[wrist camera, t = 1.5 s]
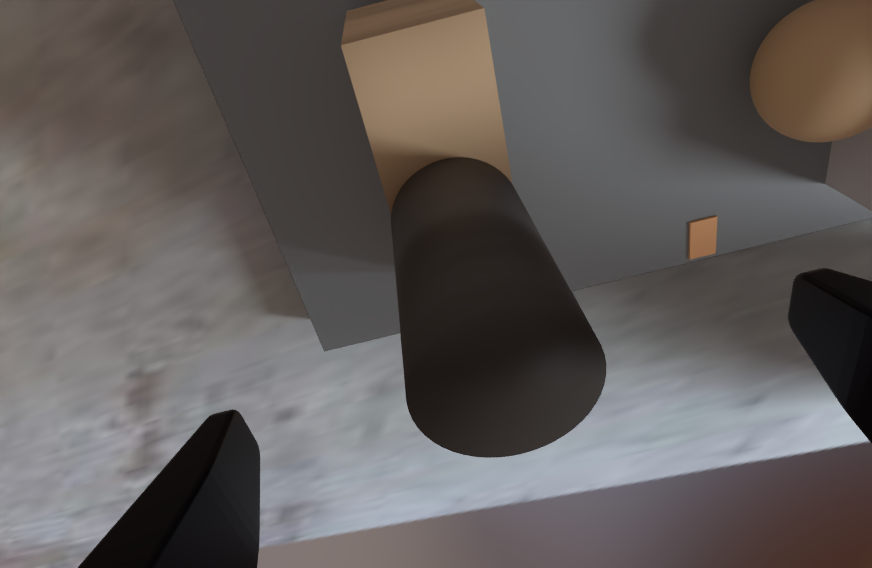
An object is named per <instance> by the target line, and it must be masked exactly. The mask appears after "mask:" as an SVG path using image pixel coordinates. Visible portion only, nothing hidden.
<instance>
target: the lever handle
mask: <svg viewBox="0 0 872 568" xmlns="http://www.w3.org/2000/svg"><path fill="white" fill-rule="evenodd" d="M341 48H342V51H343V54H344V58H345V61H346V65H347V68H348V71H349V75H350V78H351V81H352V85H353V88H354V92H355V95H356V98H357V102H358V105H359V108H360V112H361V115H362V119H363V122H364V125H365V129H366V132H367V136H368V139H369V142H370V146H371V149H372V152H373V156H374V159H375V163H376V166H377V169H378V173H379V176H380V179H381V183H382V186H383V190H384V193H385V196H386V200H387V203H388V206H389V210H390V213H391V231H392V242H393V253H394V265H395V276H396V287H397V299H398V310H399V322H400V333H401V344H402V356H403V367H404V378H405V390H406V401H407V406H408V410H409V413H410V415H411V417H412V419H413V421H414V423H415V424H416V426H417V427H418V428H419V429H420V431H421V432H422V433H423V434H424V435H425V436H426V437H428V438H429V439H430V440H432V441H433V442H434V443H436V444H438V445H440V446H441V447H443V448H446V449H448V450H450V451H453V452H456V453H460V454H463V455H469V456H475V457H505V456H512V455H517V454H522V453H526V452H529V451H533V450H535V449H538V448H541V447H543V446H545V445H548V444H550V443H552V442H554V441H556V440H557V439H559V438H561V437H562V436H564V435H565V434H567V433H568V432H569V431H571V430H572V429H574V428H575V427H576V426H577V425H578V424H579V423H580V422H581V421H582V420H583V419H584V418H585V417H586V416H587V415H588V414H589V413H590V411H591V410H592V408H593V407H594V405H595V404H596V402H597V400H598V398H599V396H600V395H601V392H602V389H603V386H604V383H605V377H606V361H605V355H604V352H603V349H602V346H601V344H600V342H599V341H598V339H597V337H596V335H595V333H594V332H593V330H592V328H591V326H590V324H589V322H588V321H587V319H586V317H585V315H584V313H583V312H582V310H581V308H580V306H579V304H578V302H577V301H576V299H575V297H574V295H573V293H572V292H571V290H570V288H569V286H568V284H567V282H566V281H565V279H564V277H563V275H562V273H561V272H560V270H559V268H558V266H557V264H556V262H555V261H554V259H553V257H552V255H551V253H550V252H549V250H548V248H547V246H546V244H545V242H544V241H543V239H542V237H541V235H540V233H539V232H538V230H537V228H536V226H535V224H534V222H533V221H532V219H531V217H530V215H529V213H528V212H527V210H526V208H525V206H524V204H523V202H522V201H521V199H520V197H519V195H518V193H517V192H516V190H515V188H514V186H513V184H512V178H511V171H510V165H509V159H508V153H507V146H506V140H505V134H504V128H503V121H502V115H501V109H500V103H499V96H498V90H497V84H496V78H495V71H494V65H493V59H492V53H491V47H490V40H489V34H488V28H487V22H486V15H485V9H484V7H482V6H481V5H480V4H479V3H477V2H476V1H475V0H386V1H382V2H379V3H375V4H371V5H367V6H363V7H360V8H356V9H352V10H348V11H347V12H346V18H345V24H344V30H343V36H342V41H341Z"/></svg>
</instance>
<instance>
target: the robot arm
mask: <svg viewBox="0 0 872 568" xmlns="http://www.w3.org/2000/svg"><path fill="white" fill-rule="evenodd" d="M788 320H789V324H790V327H791V329H792V331H793V333H794V334H795V336H796V337H797V339H798V340H799V342H800V343H801V345H802V346H803V348H804V349H805V351H806V353H807V354H808V356H809V357H810V359H811V360H812V362H813V363H814V365H815V366H816V368H817V369H818V371H819V372H820V374H821V375H822V377H823V378H824V380H825V382H826V383H827V385H828V386H829V388H830V389H831V391H832V392H833V394H834V395H835V397H836V398H837V400H838V401H839V402H840V404H841V405H842V407H843V408H844V409H845V411H846V412H847V413H848V415H849V416H850V417H851V418H852V420H853V421H854V422H855V423H856V425H857V426H858V427H859V428H860V430H861V431H862V432H863V433H864V434H865V436H866V437H867V438H868V439H869V441H870V442H871V443H872V281H868V280H865V279H862V278H858V277H855V276H851V275H848V274H844V273H841V272H838V271H834V270H831V269H827V268H822V269H817V270H813V271H808V272H804V273H801V274H799V275H797V276H796V278H795V279H794V282H793V287H792V294H791V300H790V306H789V313H788ZM259 534H260V451H259V447H258V444H257V442H256V440H255V438H254V436H253V434H252V433H251V431H250V429H249V428H248V426H247V424H246V422H245V421H244V419H243V417H242V415H241V414H240V413H239V412H238V411H237V410H228V411H224V412H220V413H215V414H213V415H211V416H209V417H208V418H207V419H206V420H205V421H204V422H203V424H202V425H201V426H200V427H199V428H198V429H197V431H196V432H195V433H194V434H193V435H192V436H191V437H190V439H189V440H188V441H187V442H186V443H185V444H184V446H183V447H182V448H181V449H180V450H179V451H178V452H177V454H176V455H175V456H174V457H173V458H172V459H171V461H170V462H169V463H168V464H167V465H166V466H165V467H164V469H163V470H162V471H161V472H160V473H159V474H158V476H157V477H156V478H155V479H154V480H153V481H152V482H151V484H150V485H149V486H148V487H147V488H146V489H145V491H144V492H143V493H142V494H141V495H140V496H139V497H138V499H137V500H136V501H135V502H134V503H133V504H132V506H131V507H130V508H129V509H128V510H127V511H126V512H125V514H124V515H123V516H122V517H121V518H120V519H119V520H118V522H117V523H116V524H115V525H114V526H113V527H112V529H111V530H110V531H109V532H108V533H107V534H106V535H105V537H104V538H103V539H102V540H101V541H100V542H99V544H98V545H97V546H96V547H95V548H94V549H93V550H92V552H91V553H90V554H89V555H88V556H87V557H86V559H85V560H84V561H83V562H82V563H81V564H80V565H79V567H78V568H257V562H258V552H259Z"/></svg>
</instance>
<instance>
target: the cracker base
mask: <svg viewBox="0 0 872 568" xmlns="http://www.w3.org/2000/svg"><path fill="white" fill-rule="evenodd" d="M173 1H174V4H175V6H176V8H177V11H178V13H179V15H180V18H181V20H182V22H183V24H184V27H185V29H186V31H187V34H188V36H189V38H190V41H191V43H192V45H193V48H194V50H195V52H196V55H197V57H198V59H199V62H200V64H201V66H202V69H203V71H204V73H205V76H206V78H207V80H208V83H209V85H210V87H211V89H212V92H213V94H214V96H215V99H216V101H217V103H218V106H219V108H220V110H221V113H222V115H223V117H224V120H225V122H226V124H227V127H228V129H229V131H230V134H231V136H232V138H233V141H234V143H235V145H236V148H237V150H238V152H239V154H240V157H241V159H242V161H243V164H244V166H245V168H246V171H247V173H248V175H249V178H250V180H251V182H252V185H253V187H254V189H255V192H256V194H257V196H258V199H259V201H260V203H261V206H262V208H263V210H264V213H265V215H266V217H267V219H268V222H269V224H270V226H271V229H272V231H273V233H274V236H275V238H276V240H277V243H278V245H279V247H280V250H281V252H282V254H283V257H284V259H285V261H286V264H287V266H288V268H289V271H290V273H291V275H292V278H293V280H294V282H295V284H296V287H297V289H298V291H299V294H300V296H301V298H302V301H303V303H304V305H305V308H306V310H307V312H308V315H309V317H310V319H311V322H312V324H313V326H314V329H315V331H316V333H317V336H318V338H319V340H320V343H321V345H322V347H323V349H324V351H328V350H332V349H336V348H341V347H345V346H349V345H353V344H357V343H361V342H365V341H369V340H373V339H377V338H382V337H386V336H390V335H394V334H398V333H400V322H399V310H398V299H397V287H396V276H395V265H394V253H393V242H392V231H391V213H390V210H389V206H388V203H387V200H386V196H385V193H384V190H383V186H382V183H381V179H380V176H379V173H378V169H377V166H376V163H375V159H374V156H373V152H372V149H371V146H370V142H369V139H368V136H367V132H366V129H365V125H364V122H363V119H362V115H361V112H360V108H359V105H358V102H357V98H356V95H355V92H354V88H353V85H352V81H351V78H350V75H349V71H348V68H347V65H346V61H345V58H344V54H343V51H342V48H341V41H342V36H343V30H344V24H345V18H346V12H347V11H348V10H352V9H356V8H360V7H363V6H367V5H371V4H375V3H379V2H382V1H386V0H173ZM475 1H476V2H477V3H479V4H480V5H481V6H482V7H484V9H485V15H486V22H487V28H488V34H489V40H490V47H491V53H492V59H493V65H494V71H495V78H496V84H497V90H498V96H499V103H500V109H501V115H502V121H503V128H504V134H505V140H506V146H507V153H508V159H509V165H510V171H511V178H512V184H513V186H514V188H515V190H516V192H517V193H518V195H519V197H520V199H521V201H522V202H523V204H524V206H525V208H526V210H527V212H528V213H529V215H530V217H531V219H532V221H533V222H534V224H535V226H536V228H537V230H538V232H539V233H540V235H541V237H542V239H543V241H544V242H545V244H546V246H547V248H548V250H549V252H550V253H551V255H552V257H553V259H554V261H555V262H556V264H557V266H558V268H559V270H560V272H561V273H562V275H563V277H564V279H565V281H566V282H567V284H568V286H569V288H570V290H571V291H574V290H579V289H583V288H587V287H591V286H595V285H599V284H603V283H607V282H611V281H616V280H620V279H624V278H628V277H632V276H636V275H640V274H644V273H648V272H652V271H657V270H661V269H665V268H669V267H673V266H677V265H681V264H685V263H689V262H693V261H698V260H702V259H706V258H710V257H714V256H718V255H722V254H726V253H730V252H735V251H739V250H743V249H747V248H751V247H755V246H759V245H763V244H767V243H771V242H776V241H780V240H784V239H788V238H792V237H796V236H800V235H804V234H808V233H812V232H817V231H821V230H825V229H829V228H833V227H837V226H841V225H845V224H849V223H854V222H858V221H862V220H866V219H870V218H872V0H475Z"/></svg>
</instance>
